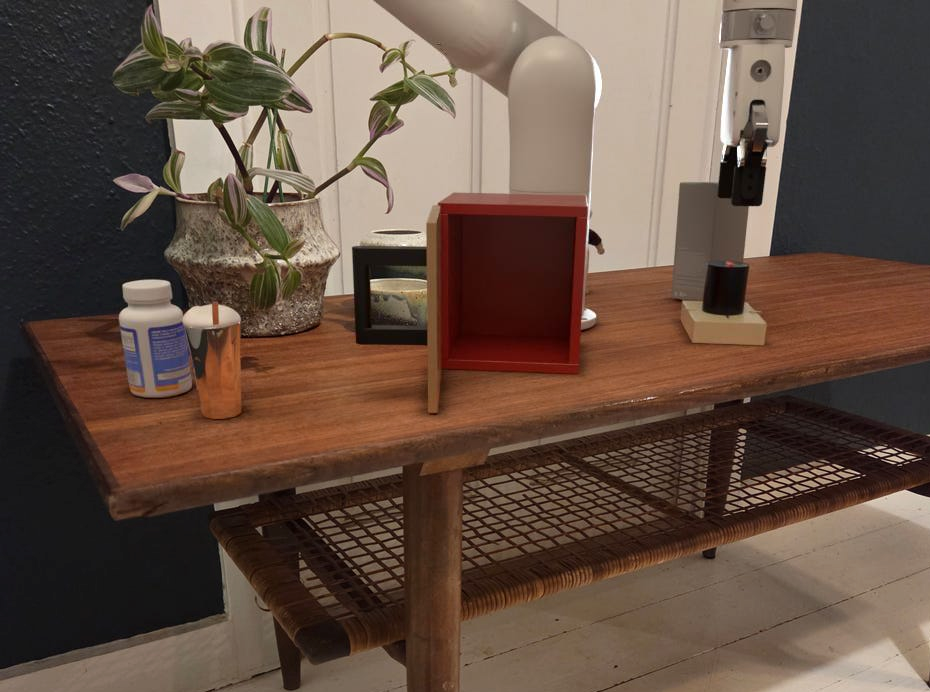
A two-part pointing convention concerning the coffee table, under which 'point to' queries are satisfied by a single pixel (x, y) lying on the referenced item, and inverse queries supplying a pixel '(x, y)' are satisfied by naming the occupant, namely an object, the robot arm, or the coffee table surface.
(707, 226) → the cosmetic box
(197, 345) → the milkshake
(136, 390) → the pill bottle
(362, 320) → the door
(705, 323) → the panel
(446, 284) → the red cabinet
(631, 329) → the coffee table surface
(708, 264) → the knob
